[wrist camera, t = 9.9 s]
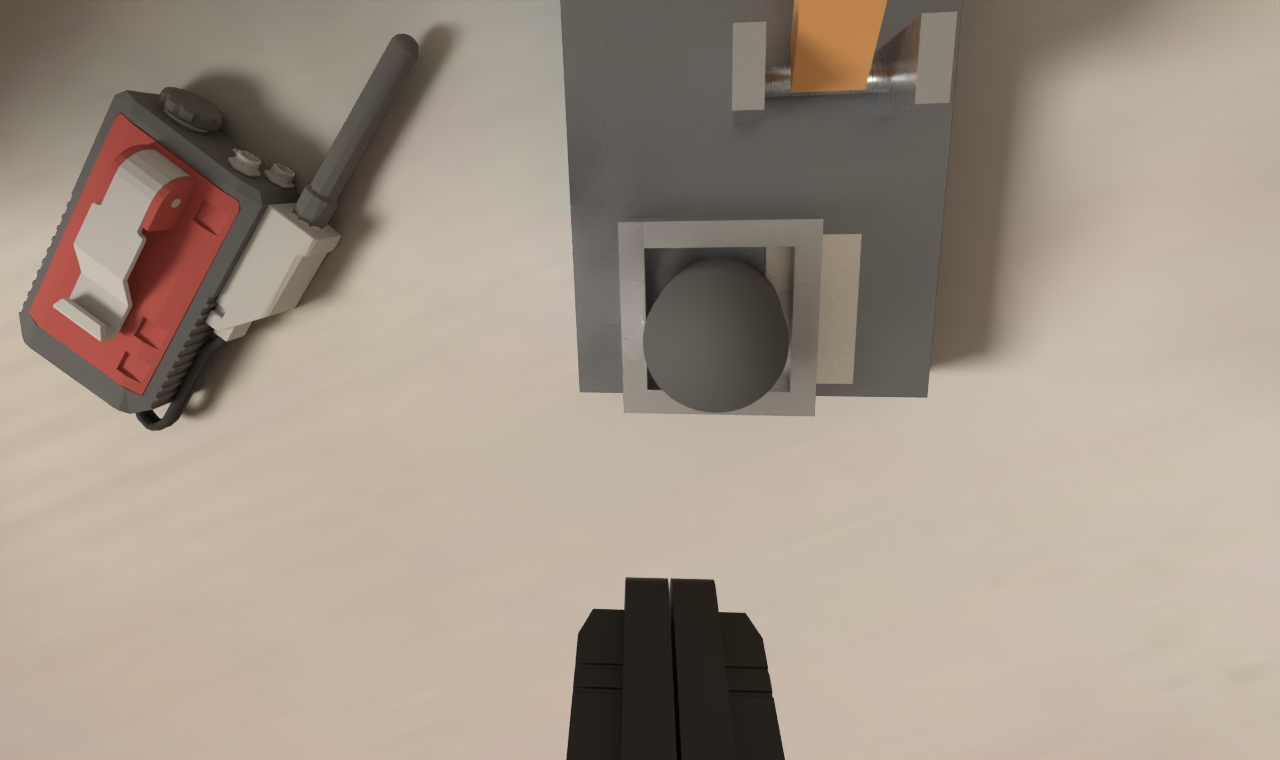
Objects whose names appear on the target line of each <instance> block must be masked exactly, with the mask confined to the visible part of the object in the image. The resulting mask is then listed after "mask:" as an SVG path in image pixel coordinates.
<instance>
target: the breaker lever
mask: <svg viewBox="0 0 1280 760" xmlns="http://www.w3.org/2000/svg"><path fill="white" fill-rule="evenodd" d="M886 4H887V0H794V9H793V19H792V30H791V40H790V46H791V93H792V92H818V91H844V90H865V89H866V85H867V81H868V77H869V73H870V69H871V65H872V60H873V56H874V52H875V48H876V44H877V40H878V36H879V32H880V28H881V24H882V20H883V16H884V12H885V8H886Z"/></svg>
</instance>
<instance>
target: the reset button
mask: <svg viewBox="0 0 1280 760" xmlns="http://www.w3.org/2000/svg"><path fill="white" fill-rule="evenodd" d="M643 352H644V357H645V361H646V364H647V367H648V369H649V371H650V373H651V375H652V377H653V379H654V380H655V382H656V383H657V384H658V386H659V387H660V388H661V389H662V390H663V391H664V392H665V393H666V394H667V395H668V396H669V397H671V398H672V399H673V400H675V401H677V402H678V403H680V404H682V405H684V406H686V407H688V408H691V409H694V410H697V411H702V412H710V413H724V412H730V411H735V410H738V409H742V408H744V407H746V406H749V405H751V404H752V403H754V402H756V401H757V400H759V399H760V398H762V397H763V396H764V395H765V394H766V393H767V392H768V391H769V390H770V389H771V388H772V387H773V386H774V385H775V383H776V382H777V381H778V379H779V377H780V375H781V374H782V372H783V369H784V367H785V364H786V361H787V357H788V352H789V332H788V326H787V323H786V319H785V316H784V313H783V310H782V306H781V303H780V300H779V297H778V295H777V293H776V291H775V289H774V288H773V286H772V284H771V283H770V282H769V281H768V279H767V278H766V277H765V276H764V275H763V274H761V273H760V272H759V271H758V270H756V269H755V268H753V267H752V266H750V265H748V264H746V263H744V262H741V261H738V260H734V259H729V258H709V259H704V260H700V261H697V262H694V263H692V264H690V265H688V266H686V267H685V268H683V269H682V270H680V271H679V272H678V273H677V274H675V275H674V276H673V277H672V278H671V280H670V281H669V282H668V283H667V284H666V286H665V288H664V289H663V291H662V292H661V294H660V295H659V297H658V298H657V300H656V302H655V303H654V305H653V306H652V308H651V310H650V312H649V314H648V317H647V320H646V323H645V327H644V332H643Z"/></svg>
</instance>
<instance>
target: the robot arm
mask: <svg viewBox="0 0 1280 760" xmlns="http://www.w3.org/2000/svg"><path fill="white" fill-rule="evenodd" d="M566 760H785V757H784V752H783V747H782V741H781V736H780V730H779V725H778V720H777V714H776V709H775V703H774V698H773V697H772V687H771V682H770V676H769V673H768V665H767V660H766V655H765V649H764V644H763V638H762V637H761V635H760V634H759V632H758V631H757V629H756V628H755V626H754V625H753V624H752V622H751V621H750V619H749V618H748V616H747V615H746V613H729V612H719V611H718V603H717V595H716V587H715V582H714V580H707V579H672V578H671V581H670V590H669V584H668V579H664V578H629V577H626V580H625V604H624V610H612V609H593V610H592V612H591V613H590V615H589V617H588V618H587V620H586V622H585V623H584V625H583V627H582V628H581V630H580V632H579V633H578V642H577V652H576V665H575V674H574V684H573V695H572V706H571V717H570V727H569V738H568V749H567V759H566Z"/></svg>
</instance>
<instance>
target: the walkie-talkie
mask: <svg viewBox="0 0 1280 760" xmlns="http://www.w3.org/2000/svg"><path fill="white" fill-rule="evenodd" d="M417 56H418V44H417V42H416V41H415V40H414V39H413V38H412V37H411V36H409V35H407V34H397V35H396V36H394V37H393V38H392V39H391V41H390V43H389V45H388V46H387V48H386V50H385V52H384V54H383V55H382V57H381V59H380V61H379V63H378V64H377V66H376V68H375V70H374V71H373V73H372V75H371V77H370V79H369V80H368V82H367V84H366V86H365V88H364V89H363V91H362V93H361V95H360V97H359V98H358V100H357V102H356V104H355V105H354V107H353V109H352V111H351V113H350V114H349V116H348V118H347V120H346V122H345V123H344V125H343V127H342V129H341V130H340V132H339V134H338V136H337V138H336V139H335V141H334V143H333V145H332V147H331V148H330V150H329V152H328V154H327V156H326V157H325V159H324V161H323V163H322V164H321V166H320V168H319V170H318V172H317V173H316V175H315V177H314V179H313V181H312V182H311V184H306V186H305V188H304V189H303V191H302V193H301V195H300V197H299V199H298V195H297V189H296V188H294V184H293V183H292V180H293V178H294V176H295V173H294V172H293V171H292V170H291V169H290V168H288V167H286V166H284V165H282V164H279V163H277V164H275V163H274V164H273V166H272V167H271V169H269V168H268V167H266V166H265V165H264V164H262V163H261V161H260V160H259V159H258V158H257V157H256V156H255V155H253V154H251V153H249V152H247V151H245V150H244V149H243V148H241V147H240V146H239V145H237V144H236V143H235V142H233V141H232V140H231V139H229V138H228V137H227V136H225V135H224V134H223V133H221V132H220V131H219V128H221V126H222V124H223V122H224V119H223V117H222V115H221V113H220V112H219V111H218V110H217V109H216V108H215V107H214V106H213V105H211V104H210V103H209V102H207V101H205V100H204V99H202V98H200V97H198V96H196V95H194V94H192V93H190V92H188V91H186V90H182V89H179V88H175V87H167V88H164V89H163V90H162V92H161V94H160V95H158V94H151V93H143V92H135V91H128V90H126V91H124V92H121V93H119V94H116V95H115V96H114V99H113V101H112V103H111V105H110V108H109V110H108V112H107V114H106V117H105V119H104V121H103V124H102V126H101V128H100V130H99V133H98V135H97V137H96V139H95V142H94V144H93V146H92V149H91V151H90V153H89V155H88V158H87V160H86V162H85V164H84V167H83V169H82V171H81V174H80V176H79V178H78V180H77V183H76V185H75V187H74V189H73V192H72V198H71V201H70V202H68V203H67V210H66V212H65V214H63V215H62V221H61V223H60V225H58V226H57V232H56V235H55V236H53V237H52V244H51V246H50V247H49V248H48V249H47V255H46V257H45V259H43V260H42V266H41V269H40V270H38V272H37V278H36V280H34V281H33V283H32V285H33V287H32V289H31V291H29V292H28V298H27V300H26V302H24V303H23V309H22V312H19V317H20V323H21V330H22V337H23V339H24V342H25V343H26V344H27V345H28V346H29V347H30V348H31V349H33V350H34V351H35V352H37V353H38V354H40V355H41V356H42V357H44V358H45V359H47V360H48V361H49V362H51V363H52V364H53V365H55V366H56V367H58V368H59V369H60V370H62V371H63V372H65V373H66V374H67V375H69V376H70V377H72V378H73V379H74V380H76V381H77V382H79V383H80V384H81V385H83V386H84V387H85V388H87V389H88V390H90V391H91V392H92V393H94V394H95V395H97V396H98V397H99V398H101V399H102V400H104V401H105V402H106V403H108V404H109V405H111V406H112V407H114V408H116V409H117V410H119V411H123V412H126V413H129V414H131V413H136V416H137V419H138V420H139V421H140V422H141V423H142V424H143V425H144V426H145V427H146V428H147V429H149V430H152V431H154V430H162V429H164V428H166V427H169V426H171V425H172V424H174V423H175V422H176V421H177V420H178V419H179V418H180V416H181V414H182V412H183V410H184V409H185V407H186V405H187V403H188V401H189V400H190V398H191V396H192V394H193V393H194V391H195V389H196V387H197V385H198V383H199V382H200V380H201V378H202V376H203V374H204V373H205V371H206V369H207V367H208V365H209V364H210V362H211V360H212V358H213V356H214V355H215V353H216V352H217V351H218V350H219V348H220V347H222V346H224V345H226V344H228V343H229V342H230V341H231V340H233V339H236V338H239V337H242V336H245V334H246V332H247V330H248V329H249V327H250V325H251V323H252V321H255V320H258V319H262V318H265V317H269V316H272V315H275V314H278V313H282V312H285V311H288V310H291V309H295V307H296V305H297V304H298V302H299V300H300V299H301V297H302V295H303V294H304V292H305V290H306V288H307V287H308V285H309V283H310V282H311V280H312V278H313V276H314V275H315V273H316V271H317V270H318V268H319V266H320V265H321V263H322V261H323V259H324V258H325V256H326V254H327V253H328V252H330V251H333V250H334V248H335V247H336V245H337V243H338V242H339V240H340V238H341V234H340V233H338V232H337V231H336V230H334V229H333V228H332V227H331V226H329V225H328V222H329V220H330V219H331V217H332V215H333V213H334V212H335V210H336V208H337V206H338V205H339V202H338V199H337V198H338V197H339V195H340V193H341V191H342V190H343V188H344V186H345V184H346V183H347V181H348V179H349V177H350V176H351V174H352V172H353V170H354V169H355V167H356V165H357V163H358V162H359V160H360V158H361V157H362V155H363V153H364V151H365V150H366V148H367V146H368V144H369V143H370V141H371V139H372V137H373V136H374V134H375V132H376V130H377V129H378V127H379V125H380V123H381V122H382V120H383V118H384V116H385V113H386V111H387V109H388V108H389V106H390V104H391V102H392V101H393V99H394V97H395V95H396V94H397V92H398V90H399V88H400V87H401V85H402V83H403V81H404V79H405V78H406V76H407V74H408V72H409V71H410V69H411V67H412V65H413V64H414V62H415V60H416V58H417ZM170 402H171V404H170V406H169V408H168V410H167V412H166V413H165V415H164V417H163V418H162V419H160V418H159V417H158V416H157V415H156V414H155V413H154V411H153V409H155V408H157V407H160V406H162V405H165V404H167V403H170Z"/></svg>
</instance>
